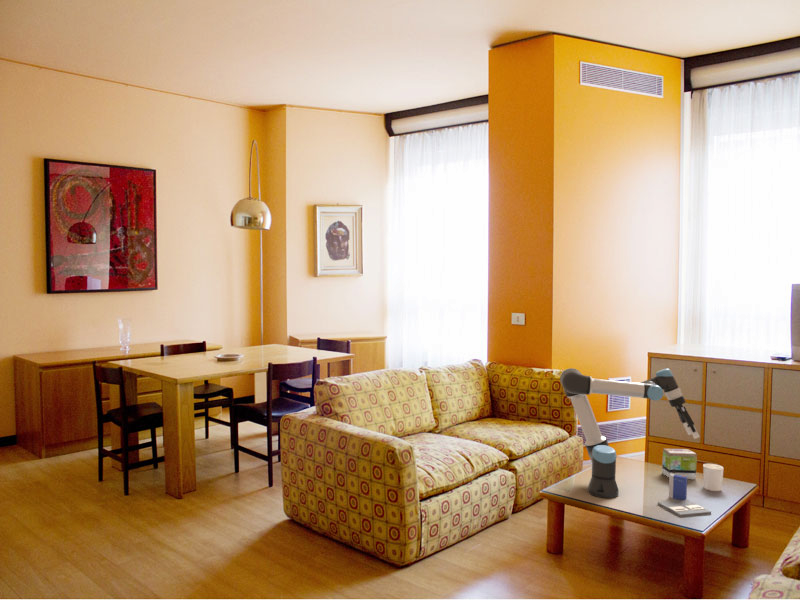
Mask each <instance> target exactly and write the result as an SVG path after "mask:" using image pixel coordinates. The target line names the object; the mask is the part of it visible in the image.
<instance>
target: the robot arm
mask: <svg viewBox="0 0 800 600" xmlns="http://www.w3.org/2000/svg"><path fill="white" fill-rule="evenodd" d="M559 377H560V378H559V381H560V384H561V386H562V388H563V391H564V394H565V396H566V397H567V398H568V399H570V402H571V405H572V407H573V409H574V412H575V414H576V417H577V419H578V423H579V424H580V427H581V429H582V432H583V435H584V438H585V442H584V446H585V448H586V451H587V456H588V457H589V459H590V462H591V477H590V481H589V483H588V486H587V492H588V494H590V495H591V496H594V497H599V498H602V497H603V498H602V499H614V498H617V497H619V493H620V492H619V487H618V483H617V481H616V472H617V471H616V470H617V468H616V467H617V465H616V464H617V452H616V450H615V449H614V448H613V447H611V446H610V445H609V442H608V440H607V437H606V436H604V435H602V432H601V429H600V427H599V424H598V421H597V420H596V417H595V416H596V415H595V414H594V411H593V407H592V406H591V403H590V401H589V398H588V396H587V395H589V396H590V395H591V394H598V395H609V396H619V397H629V398H640V399H649V400H651V401H660V400H662V398H663V397H664V396H666V398H667V400H668V403H669V404H670V407H672V408H675V410H676V412H677V415H678V417H679V420H680V422H681V423H682V425H683V428H684V430H685V431H686V434H687V435H688V436H690V435H692V438H693V439H694V440H697V439H698V438H701V436H700V434H699V433H698V430H697V428H696V427H695V422H694V420H693V419H692V417H691V415H690V414H689V411H688V410H687V408H686V406H684V405H683V404H685V403H686V399H685V397H684V395H683V393H682V389H681V388H680V387H679V385H678V383H677V381H676V378H675V376H674V375H673V372H672V370H671V369H670V368H668V367H667V368H663V369H660V370H658V371H656V372H655V377H652V378H649V379H646V380H644V381H640V382H634V381H624V380H622V381H621V380H612V379H605V378H603V379H601V378H594V377H593V378H592V376H590V375H584V374H582V373H581V371H579V370H578V369H576V368H572V367H571V368H567V369H564V370H563V371H562V372H561V374H560V376H559ZM663 395H664V396H663Z"/></svg>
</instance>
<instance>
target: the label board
mask: <svg viewBox="0 0 800 600" xmlns="http://www.w3.org/2000/svg"><path fill="white" fill-rule="evenodd" d="M657 505H658V506H659V505H660V506H659V507H661V506H662V507H661V508H663V507H664V508H663V509H665V510H667V511H668V510H669V511H668V512H671V513H672V514H674V515H675V516H678V517H680V518H685V517H694V516H695V517H696V516H705V515H707V514H708V515H711V514H712V511H711V510H709V509H707V508H705V507H703V506H700V505H699V504H696V503H695V502H693V501H690V500H689V499H686V500H678V499H676V500H669V501H658V502H657ZM708 515H707V516H708Z"/></svg>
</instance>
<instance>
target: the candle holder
mask: <svg viewBox="0 0 800 600" xmlns="http://www.w3.org/2000/svg"><path fill="white" fill-rule="evenodd" d="M702 469H703V475H702V476H703V488H704V489H705V490H708V491H712V492H720V491H722V486H723V478H724V466H722V465H720V464H715V463H703V465H702Z"/></svg>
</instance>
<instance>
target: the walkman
mask: <svg viewBox="0 0 800 600" xmlns="http://www.w3.org/2000/svg"><path fill="white" fill-rule="evenodd" d="M668 479H669V480H668V481H669V482H668V483H669V484H668V498H669V499H673V500H687V499H688V497H687V494H688V493H687V492H688V479H687V477H685V476H683V475H682V476H680V475H675V474H670V475H669V478H668Z"/></svg>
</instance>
